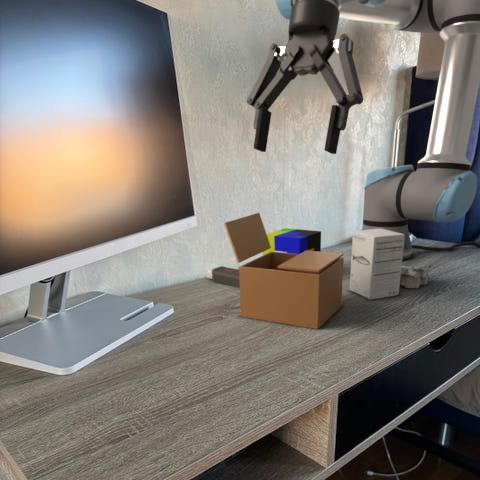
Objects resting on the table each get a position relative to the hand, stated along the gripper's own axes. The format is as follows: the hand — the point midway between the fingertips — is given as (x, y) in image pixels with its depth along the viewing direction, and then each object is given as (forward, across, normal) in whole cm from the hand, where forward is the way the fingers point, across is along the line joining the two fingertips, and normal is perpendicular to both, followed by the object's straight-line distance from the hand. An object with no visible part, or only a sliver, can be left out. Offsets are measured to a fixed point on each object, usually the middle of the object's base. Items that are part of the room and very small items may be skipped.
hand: (293, 151), depth 73 cm
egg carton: (+20, +11, +35) cm, 42 cm away
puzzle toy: (+23, -13, +29) cm, 39 cm away
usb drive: (+26, -22, +17) cm, 38 cm away
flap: (+15, -8, +3) cm, 17 cm away
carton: (+27, +1, +7) cm, 28 cm away
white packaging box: (+23, +10, +25) cm, 35 cm away
